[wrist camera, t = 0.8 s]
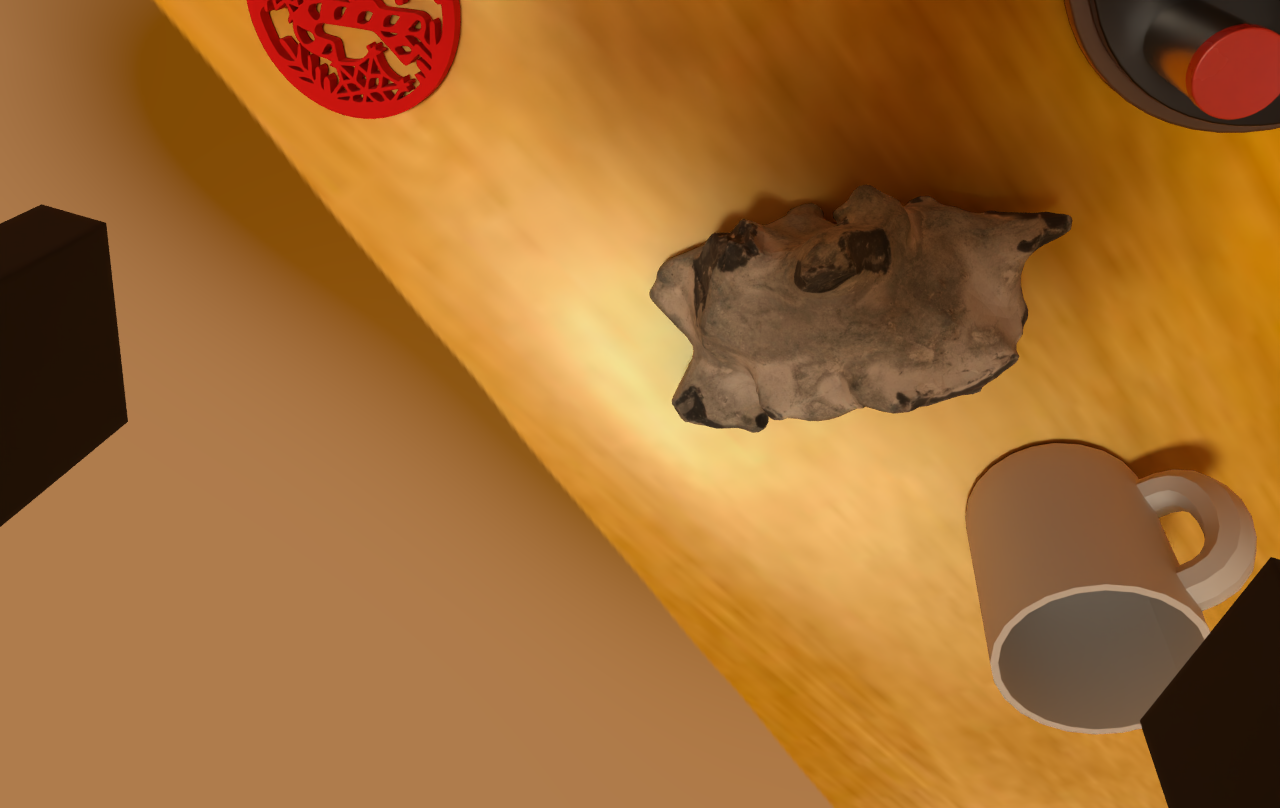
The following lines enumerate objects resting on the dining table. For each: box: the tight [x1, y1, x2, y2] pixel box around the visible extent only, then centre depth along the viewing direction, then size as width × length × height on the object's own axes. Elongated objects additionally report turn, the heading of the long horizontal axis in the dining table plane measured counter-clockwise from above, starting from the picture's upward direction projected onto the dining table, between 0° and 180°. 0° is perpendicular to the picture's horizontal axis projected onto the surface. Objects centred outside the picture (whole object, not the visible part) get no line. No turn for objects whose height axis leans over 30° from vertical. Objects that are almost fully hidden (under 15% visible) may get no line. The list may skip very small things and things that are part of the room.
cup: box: [966, 443, 1257, 734], centre depth 36 cm, size 7×10×9 cm
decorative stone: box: [649, 185, 1072, 433], centre depth 33 cm, size 16×9×10 cm, turn 125°
